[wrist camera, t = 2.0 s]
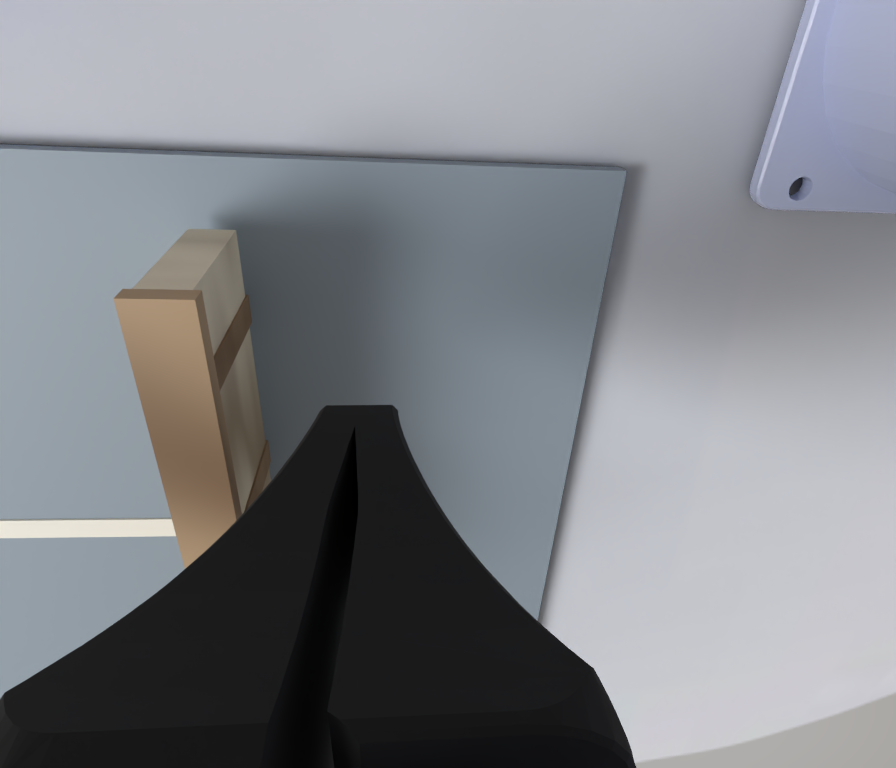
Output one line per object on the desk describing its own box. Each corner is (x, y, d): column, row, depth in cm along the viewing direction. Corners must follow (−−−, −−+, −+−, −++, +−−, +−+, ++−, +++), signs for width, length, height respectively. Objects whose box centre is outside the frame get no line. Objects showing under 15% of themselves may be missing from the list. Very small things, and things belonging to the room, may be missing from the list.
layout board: (621, 166, 14) (627, 171, 13) (521, 683, 24) (523, 694, 24) (-351, 131, 12) (-376, 135, 12) (-6, 699, 23) (-13, 711, 22)
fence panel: (280, 502, 17) (253, 612, 14) (233, 503, 17) (196, 613, 14) (244, 228, 13) (195, 300, 10) (181, 227, 13) (113, 298, 10)
